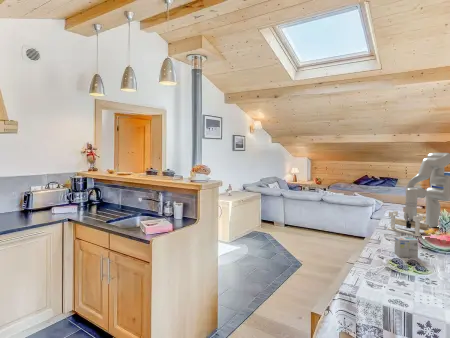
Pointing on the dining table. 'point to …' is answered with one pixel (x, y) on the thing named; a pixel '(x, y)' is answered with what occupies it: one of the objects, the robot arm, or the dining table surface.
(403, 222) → the rail
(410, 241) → the light bulb box
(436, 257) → the dining table surface
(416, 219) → the rack
